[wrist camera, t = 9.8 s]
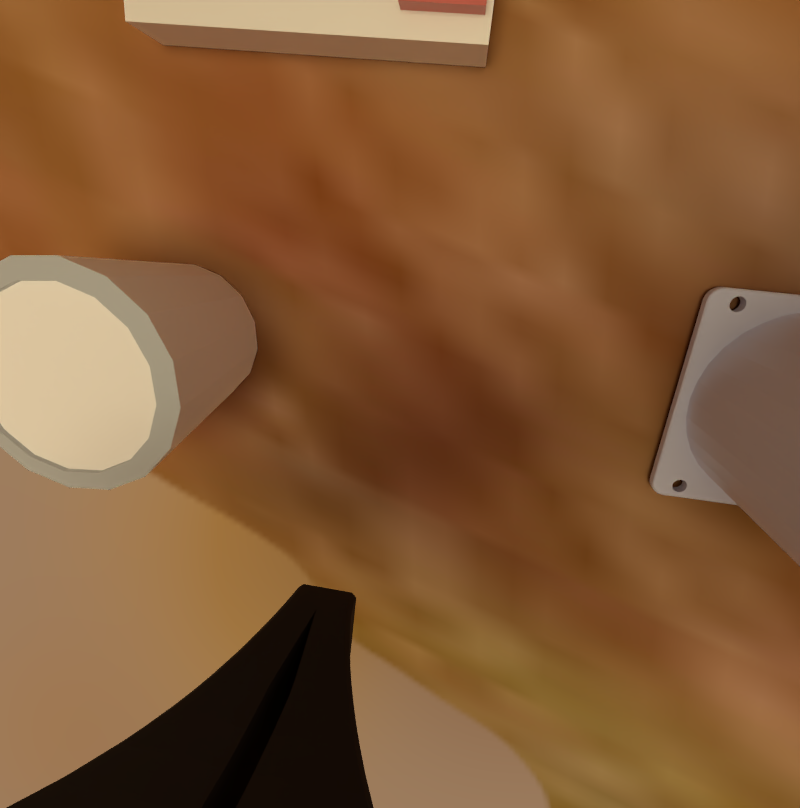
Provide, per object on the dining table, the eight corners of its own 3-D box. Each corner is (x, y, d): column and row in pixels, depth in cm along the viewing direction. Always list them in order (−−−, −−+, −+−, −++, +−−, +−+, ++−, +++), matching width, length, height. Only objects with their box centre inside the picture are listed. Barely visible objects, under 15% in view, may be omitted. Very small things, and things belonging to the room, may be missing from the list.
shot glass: (87, 265, 20) (-100, 281, 13) (243, 229, 19) (122, 227, 12) (147, 423, 22) (10, 504, 15) (291, 399, 21) (210, 477, 14)
